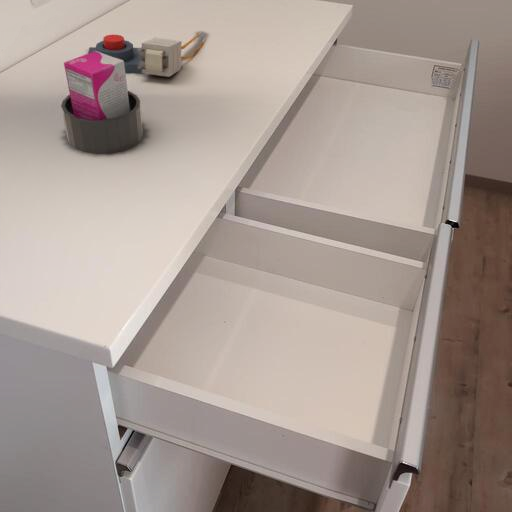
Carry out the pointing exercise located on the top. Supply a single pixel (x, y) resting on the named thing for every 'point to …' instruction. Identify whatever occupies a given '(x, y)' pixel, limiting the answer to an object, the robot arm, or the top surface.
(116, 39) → the power button
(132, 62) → the button housing
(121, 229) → the top surface
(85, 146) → the dark grey round bin
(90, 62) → the supplement box
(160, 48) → the electrical component
